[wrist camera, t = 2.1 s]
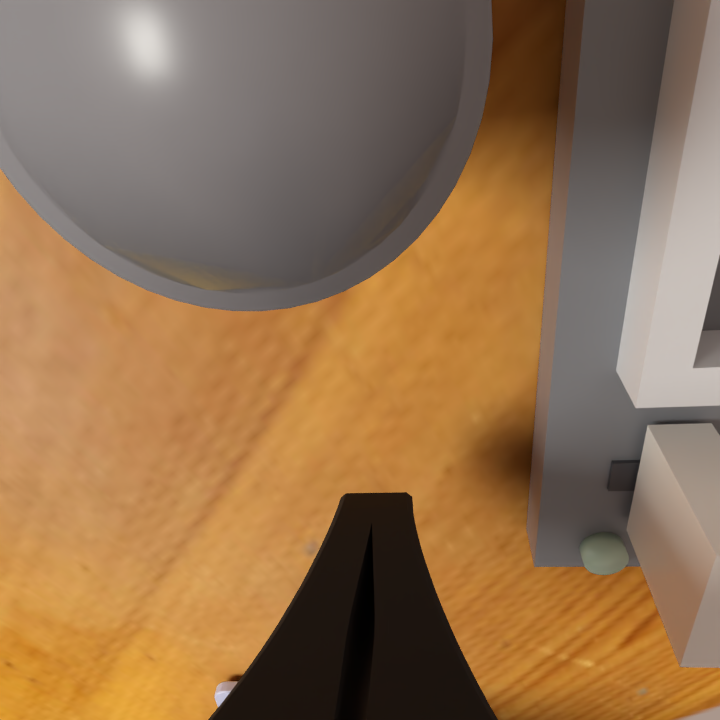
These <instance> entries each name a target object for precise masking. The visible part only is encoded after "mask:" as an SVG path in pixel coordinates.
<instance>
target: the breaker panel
mask: <svg viewBox="0 0 720 720" xmlns="http://www.w3.org/2000/svg"><path fill="white" fill-rule="evenodd" d="M699 423H712V425H713V426H714V428H715V429H716V431H717V432H718V434H719V435H720V0H566V10H565V24H564V37H563V50H562V63H561V77H560V90H559V103H558V117H557V130H556V143H555V156H554V170H553V183H552V196H551V210H550V223H549V236H548V249H547V263H546V276H545V289H544V303H543V316H542V329H541V342H540V356H539V369H538V382H537V396H536V409H535V422H534V435H533V449H532V462H531V475H530V489H529V502H528V515H527V528H526V529H527V534H528V538H529V543H530V548H531V553H532V558H533V562H534V567H585V568H586V569H587V570H588V571H590V572H591V573H594V574H598V575H609V574H613V573H616V572H619V571H620V570H622V569H623V568H624V567H625V566H640V563H639V561H638V558H637V556H636V553H635V550H634V548H633V545H632V543H631V540H630V538H629V535H628V532H627V530H626V529H627V524H628V520H629V515H630V510H631V505H632V500H633V495H634V490H635V485H636V480H637V475H638V470H639V465H640V460H641V455H642V450H643V445H644V440H645V435H646V431H647V426H648V425H664V424H699Z"/></svg>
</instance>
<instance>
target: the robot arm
mask: <svg viewBox="0 0 720 720" xmlns="http://www.w3.org/2000/svg"><path fill="white" fill-rule="evenodd" d="M215 701H216V703H217V705H218V708H217V710H216V711H215V712H214V713H213V715H212V716H211V717H210V718H209V719H208V720H498V719H497V717H496V716H495V714H494V712H493V711H492V709H491V707H490V705H489V704H488V702H487V700H486V698H485V696H484V694H483V692H482V690H481V689H480V687H479V685H478V683H477V681H476V679H475V677H474V675H473V673H472V671H471V669H470V667H469V665H468V663H467V661H466V659H465V657H464V655H463V653H462V651H461V649H460V647H459V645H458V643H457V641H456V638H455V636H454V634H453V632H452V629H451V627H450V625H449V623H448V620H447V618H446V615H445V613H444V611H443V608H442V606H441V604H440V601H439V598H438V596H437V593H436V591H435V588H434V585H433V582H432V579H431V577H430V574H429V571H428V568H427V565H426V562H425V559H424V556H423V553H422V549H421V546H420V542H419V538H418V534H417V530H416V526H415V521H414V515H413V502H412V496H410V495H409V494H408V493H406V492H405V493H347V494H345V495H344V496H343V497H341V499H340V502H339V505H338V508H337V511H336V513H335V516H334V518H333V521H332V523H331V526H330V528H329V530H328V533H327V535H326V537H325V539H324V541H323V543H322V545H321V548H320V550H319V552H318V554H317V556H316V558H315V559H314V561H313V563H312V565H311V567H310V569H309V571H308V573H307V575H306V577H305V579H304V581H303V583H302V584H301V586H300V588H299V590H298V591H297V593H296V595H295V596H294V598H293V600H292V602H291V603H290V605H289V607H288V608H287V610H286V612H285V613H284V615H283V617H282V618H281V620H280V622H279V623H278V625H277V627H276V628H275V630H274V631H273V633H272V634H271V636H270V637H269V639H268V640H267V642H266V643H265V645H264V646H263V648H262V649H261V651H260V652H259V654H258V655H257V656H256V658H255V659H254V661H253V662H252V664H251V665H250V666H249V668H248V669H247V671H246V672H245V673H244V675H243V676H242V677H241V679H240V680H239V681H226V682H222V683H220V684H219V685H218V686H217V688H216V692H215Z"/></svg>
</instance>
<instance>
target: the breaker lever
mask: <svg viewBox="0 0 720 720" xmlns="http://www.w3.org/2000/svg"><path fill="white" fill-rule="evenodd" d="M626 530H627V532H628V535H629V538H630V540H631V543H632V545H633V548H634V550H635V553H636V556H637V558H638V561H639V563H640V566H641V568H642V571H643V573H644V576H645V579H646V581H647V584H648V586H649V589H650V591H651V594H652V597H653V599H654V602H655V604H656V607H657V609H658V612H659V615H660V617H661V620H662V622H663V625H664V627H665V630H666V633H667V635H668V638H669V640H670V643H671V645H672V648H673V651H674V653H675V656H676V658H677V661H678V663H679V666H680V667H715V668H720V435H719V434H718V432H717V431H716V429H715V428H714V426H713V425H712V423H699V424H664V425H648V426H647V431H646V435H645V440H644V445H643V450H642V455H641V460H640V465H639V470H638V475H637V480H636V485H635V490H634V495H633V500H632V505H631V510H630V515H629V520H628V524H627V529H626Z"/></svg>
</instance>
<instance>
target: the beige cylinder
mask: <svg viewBox="0 0 720 720" xmlns="http://www.w3.org/2000/svg"><path fill="white" fill-rule="evenodd" d="M492 43H493V28H492V3H491V0H0V168H1V170H2V171H3V172H4V174H5V175H6V177H7V178H8V179H9V181H10V182H11V183H12V185H13V186H14V187H15V189H16V190H17V191H18V192H19V193H20V195H21V196H22V197H23V198H24V199H25V200H26V201H27V202H28V204H29V205H30V206H31V207H32V208H33V209H34V210H35V211H36V212H37V214H38V215H39V216H40V217H41V218H42V219H43V220H44V221H46V222H47V223H48V224H49V225H50V226H51V227H52V228H53V229H54V230H55V231H56V232H57V233H59V234H60V235H61V236H62V237H63V238H64V239H65V240H66V241H68V242H69V243H70V244H72V245H73V246H74V247H75V248H77V249H78V250H79V251H81V252H82V253H83V254H85V255H86V256H87V257H89V258H90V259H91V260H93V261H94V262H96V263H98V264H99V265H101V266H103V267H104V268H106V269H107V270H109V271H111V272H112V273H114V274H116V275H117V276H119V277H121V278H123V279H125V280H127V281H129V282H131V283H133V284H135V285H137V286H140V287H142V288H144V289H146V290H148V291H151V292H154V293H156V294H159V295H162V296H165V297H168V298H170V299H173V300H176V301H180V302H184V303H188V304H193V305H197V306H201V307H206V308H214V309H222V310H230V311H267V310H276V309H285V308H292V307H296V306H300V305H304V304H308V303H313V302H317V301H320V300H322V299H325V298H328V297H330V296H333V295H335V294H338V293H341V292H343V291H345V290H347V289H349V288H351V287H353V286H355V285H357V284H359V283H360V282H362V281H364V280H366V279H368V278H370V277H371V276H373V275H374V274H375V273H377V272H378V271H380V270H381V269H382V268H384V267H385V266H387V265H388V264H389V263H391V262H392V261H394V260H395V259H396V258H397V257H398V256H399V255H400V254H401V253H402V252H403V251H404V250H406V249H407V248H408V247H409V246H410V245H411V244H412V243H413V242H414V241H415V240H416V239H417V238H418V237H419V236H420V235H421V233H422V232H423V231H424V230H425V229H426V227H427V226H428V225H429V224H430V222H431V221H432V220H433V219H434V218H435V216H436V215H437V214H438V212H439V211H440V209H441V208H442V206H443V204H444V203H445V201H446V200H447V198H448V197H449V195H450V193H451V192H452V190H453V189H454V187H455V185H456V183H457V181H458V179H459V177H460V175H461V173H462V170H463V168H464V166H465V164H466V162H467V160H468V158H469V156H470V153H471V150H472V147H473V144H474V141H475V138H476V135H477V132H478V129H479V126H480V123H481V120H482V116H483V111H484V106H485V101H486V96H487V91H488V86H489V81H490V69H491V56H492Z"/></svg>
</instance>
